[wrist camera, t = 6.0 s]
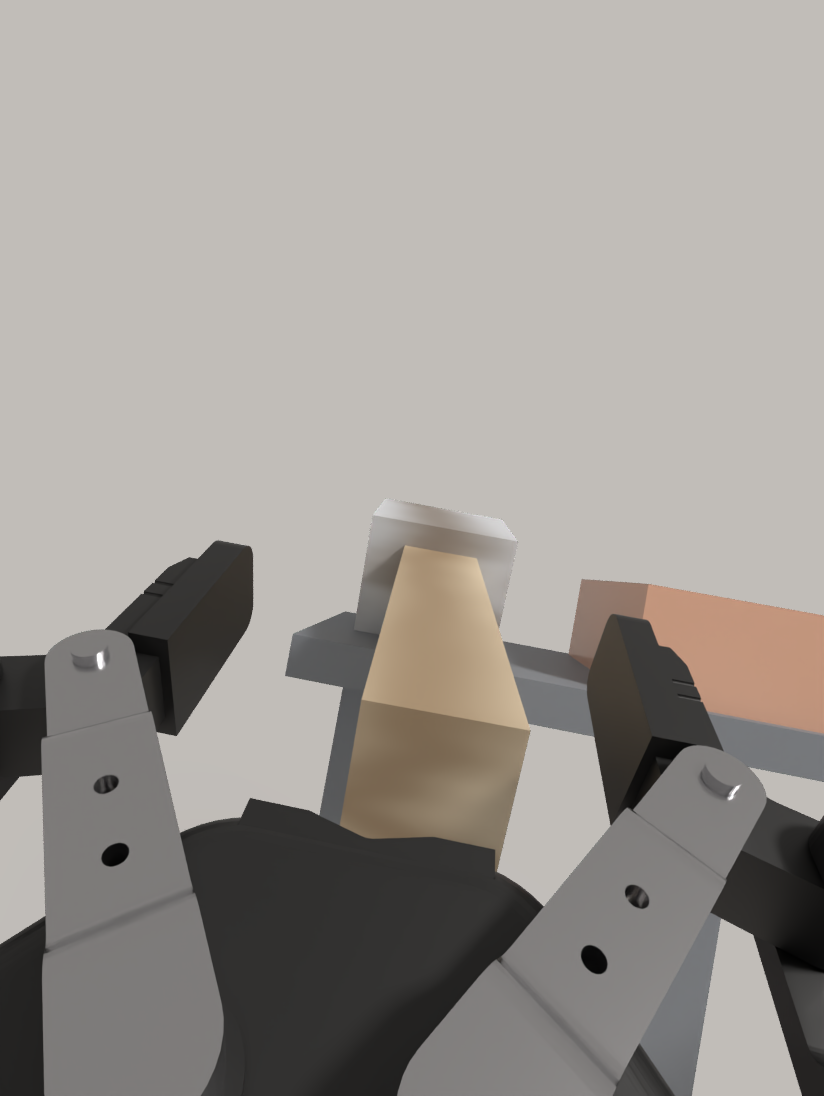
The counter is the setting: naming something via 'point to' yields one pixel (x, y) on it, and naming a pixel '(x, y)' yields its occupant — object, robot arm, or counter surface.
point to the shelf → (561, 703)
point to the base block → (721, 648)
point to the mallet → (436, 681)
